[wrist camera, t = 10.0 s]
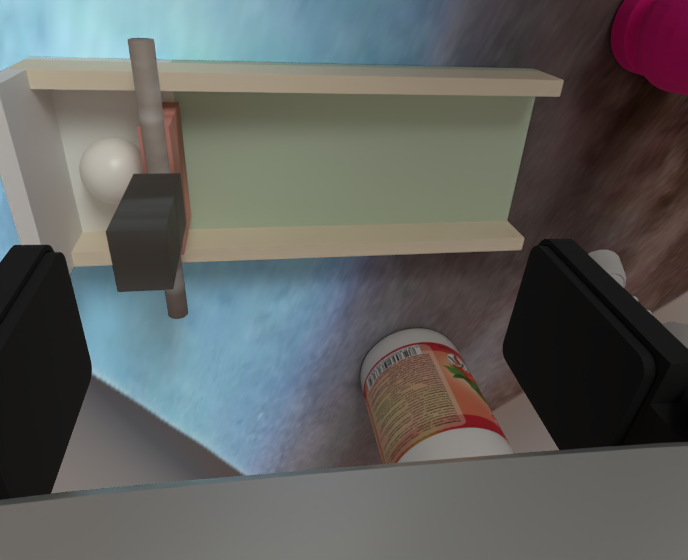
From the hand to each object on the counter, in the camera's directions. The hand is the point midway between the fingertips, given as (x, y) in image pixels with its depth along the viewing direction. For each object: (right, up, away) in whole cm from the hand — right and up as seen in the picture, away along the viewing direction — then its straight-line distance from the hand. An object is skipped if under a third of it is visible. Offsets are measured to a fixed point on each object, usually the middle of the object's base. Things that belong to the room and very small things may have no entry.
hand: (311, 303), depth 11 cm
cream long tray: (-2, +9, +26) cm, 28 cm away
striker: (-10, +8, +24) cm, 27 cm away
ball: (-13, +7, +22) cm, 26 cm away
